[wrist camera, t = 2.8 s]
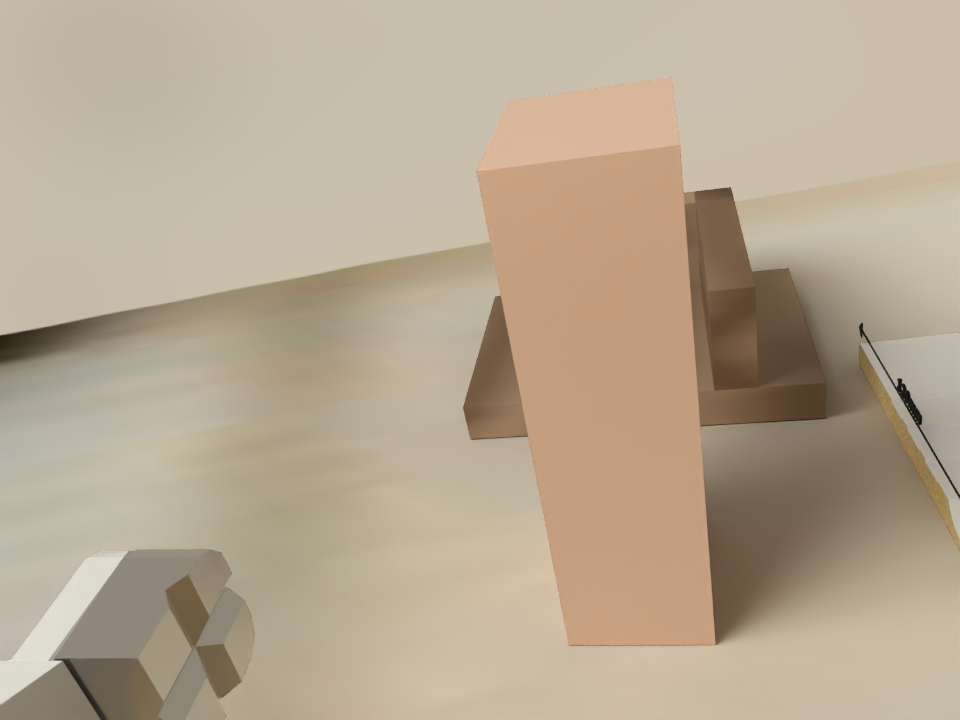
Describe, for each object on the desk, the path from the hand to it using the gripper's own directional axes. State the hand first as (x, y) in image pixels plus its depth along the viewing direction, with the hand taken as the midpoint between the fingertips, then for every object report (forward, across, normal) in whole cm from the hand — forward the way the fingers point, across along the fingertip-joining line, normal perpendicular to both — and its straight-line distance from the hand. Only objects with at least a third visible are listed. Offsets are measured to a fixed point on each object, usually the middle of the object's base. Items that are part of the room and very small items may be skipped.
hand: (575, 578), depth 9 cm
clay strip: (+12, -1, -13) cm, 18 cm away
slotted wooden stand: (+24, -1, -13) cm, 27 cm away
